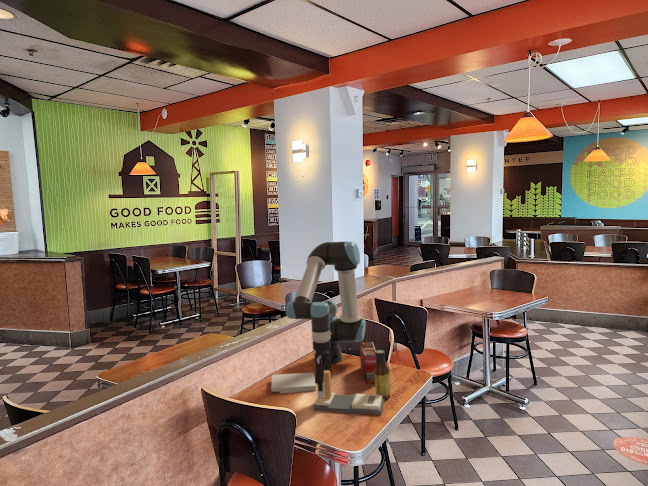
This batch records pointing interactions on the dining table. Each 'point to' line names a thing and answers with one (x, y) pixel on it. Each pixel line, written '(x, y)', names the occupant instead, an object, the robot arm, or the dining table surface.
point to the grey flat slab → (293, 383)
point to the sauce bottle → (381, 375)
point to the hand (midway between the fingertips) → (324, 392)
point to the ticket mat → (346, 406)
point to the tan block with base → (326, 391)
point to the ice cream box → (368, 361)
